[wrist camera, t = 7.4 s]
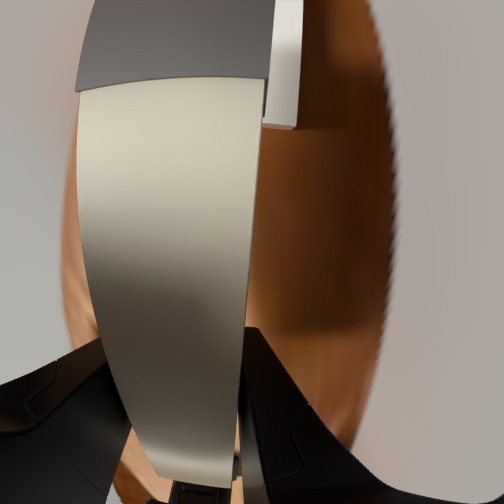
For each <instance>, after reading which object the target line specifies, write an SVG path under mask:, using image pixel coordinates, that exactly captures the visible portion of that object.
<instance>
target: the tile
mask: <svg viewBox="0 0 504 504" xmlns="http://www.w3.org/2000/svg"><path fill="white" fill-rule="evenodd" d="M302 23H303V0H276V1H275V12H274V24H273V36H272V48H271V60H270V71H269V82H268V91H267V100H266V110H265V117H263V120H262V128H273V129H284V130H292V129H293V128H295V127H296V122H297V110H298V96H299V81H300V64H301V46H302Z"/></svg>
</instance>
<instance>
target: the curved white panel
mask: <svg viewBox="0 0 504 504" xmlns="http://www.w3.org/2000/svg"><path fill="white" fill-rule="evenodd" d="M275 1H276V0H95V2H94V5H93V9H92V12H91V15H90V19H89V23H88V26H87V30H86V34H85V38H84V42H83V47H82V51H81V56H80V61H79V67H78V73H77V79H76V86H75V92H80V93H81V97H80V106H79V117H78V133H77V196H78V211H79V223H80V233H81V242H82V249H83V257H84V263H85V269H86V275H87V281H88V286H89V291H90V296H91V301H92V305H93V310H94V314H95V318H96V322H97V326H98V330H99V334H100V337H101V341H102V344H103V348H104V351H105V354H106V358H107V361H108V364H109V367H110V370H111V373H112V376H113V379H114V382H115V384H116V387H117V390H118V392H119V395H120V398H121V400H122V403H123V405H124V408H125V410H126V412H127V415H128V417H129V420H130V422H131V424H132V426H133V429H134V431H135V433H136V435H137V437H138V439H139V441H140V443H141V445H142V447H143V449H144V451H145V453H146V455H147V457H148V459H149V461H150V463H151V465H152V467H153V468H154V470H155V472H156V474H157V475H158V476H159V477H163V478H167V479H172V480H177V481H182V482H187V483H193V484H199V485H206V486H213V487H222V488H231V480H232V469H233V458H234V447H235V436H236V424H237V413H238V396H239V384H240V372H241V360H242V349H243V339H244V328H245V319H246V307H247V295H248V283H249V272H250V260H251V248H252V236H253V225H254V213H255V201H256V190H257V178H258V166H259V155H260V143H261V132H262V120H263V117H265V110H266V100H267V91H268V82H269V71H270V60H271V48H272V36H273V24H274V12H275Z"/></svg>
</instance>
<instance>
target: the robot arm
mask: <svg viewBox="0 0 504 504" xmlns="http://www.w3.org/2000/svg"><path fill="white" fill-rule="evenodd" d="M308 404H309V403H308V401H307V400H306V398H305V397H304V395H303V394H302V393H301V391H300V390H299V388H298V387H297V385H296V384H295V382H294V381H293V380H292V378H291V377H290V375H289V374H288V372H287V371H286V369H285V368H284V366H283V365H282V363H281V362H280V360H279V359H278V357H277V356H276V354H275V353H274V351H273V350H272V348H271V347H270V345H269V344H268V342H267V341H266V339H265V338H264V336H263V335H262V333H261V332H260V330H259V329H258V328H256V327H245V328H244V339H243V349H242V360H241V372H240V384H239V396H238V422H239V439H240V454H241V468H242V482H243V494H244V504H467V503H459V502H452V501H446V500H440V499H434V498H430V497H425V496H421V495H416V494H412V493H408V492H405V491H401V490H398V489H395V488H393V487H391V486H389V485H387V484H385V483H383V482H382V481H381V480H379V479H378V478H377V477H376V476H374V475H373V474H372V473H371V472H370V471H369V470H368V469H367V468H366V467H365V466H363V464H362V463H361V462H360V461H359V460H358V459H356V458H355V456H354V455H353V454H351V452H350V451H349V450H348V449H347V448H346V447H345V446H344V445H343V444H342V443H341V442H340V441H339V440H338V439H337V438H336V437H335V436H334V435H333V434H332V433H331V431H330V430H329V429H328V428H327V427H326V425H325V424H324V423H323V422H322V420H321V419H320V418H319V416H318V415H317V414H316V412H315V411H314V409H313V408H312V407H311V405H308ZM131 428H132V424H131V422H130V420H129V417H128V415H127V412H126V410H125V408H124V405H123V403H122V400H121V398H120V395H119V392H118V390H117V387H116V384H115V382H114V379H113V376H112V373H111V370H110V367H109V364H108V361H107V358H106V354H105V351H104V348H103V344H102V341H101V337H99V338H97V339H95V340H93V341H91V342H89V343H87V344H85V345H84V346H82V347H80V348H78V349H76V350H74V351H72V352H70V353H68V354H66V355H65V356H63V357H61V358H59V359H57V361H53V362H51V363H49V364H47V365H46V366H43V367H41V368H39V369H37V370H35V371H33V372H31V373H29V374H26V375H24V376H22V377H19V378H17V379H14V380H12V381H9V382H7V383H4V384H2V385H0V504H105V503H106V500H107V496H108V493H109V490H110V487H111V484H112V481H113V478H114V475H115V472H116V469H117V466H118V463H119V461H120V458H121V455H122V452H123V449H124V447H125V444H126V441H127V438H128V436H129V433H130V430H131ZM238 461H239V458H238V457H236V456H234V458H233V469H232V480H231V488H222V487H213V486H206V485H199V484H193V483H187V482H182V481H177V480H173V483H172V488H171V492H170V497H169V501H168V503H164V502H161V501H157V500H156V499H152V498H151V499H150V501H146V504H230V503H231V491H232V481H235V480H236V478H237V470H238ZM481 504H504V494H502V495H501V496H499V497H498V498H497V499H495V500H494V501H490V502H487V503H481Z"/></svg>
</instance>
